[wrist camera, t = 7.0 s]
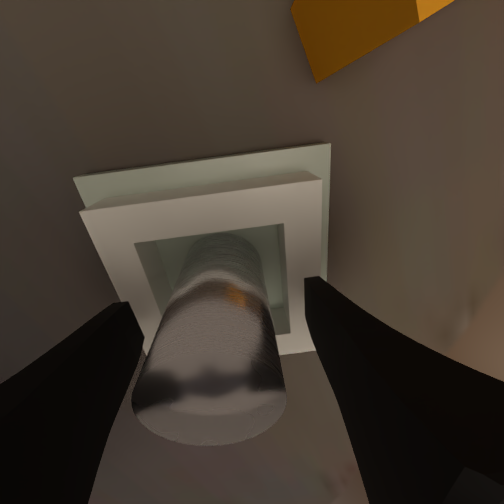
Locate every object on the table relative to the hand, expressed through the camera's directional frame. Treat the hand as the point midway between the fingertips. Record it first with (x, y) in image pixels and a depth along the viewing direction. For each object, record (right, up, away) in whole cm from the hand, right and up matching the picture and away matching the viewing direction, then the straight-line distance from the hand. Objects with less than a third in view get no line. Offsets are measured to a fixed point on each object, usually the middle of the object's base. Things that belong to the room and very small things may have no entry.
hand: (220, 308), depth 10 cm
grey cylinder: (0, +1, +3) cm, 3 cm away
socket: (0, +2, +4) cm, 4 cm away
